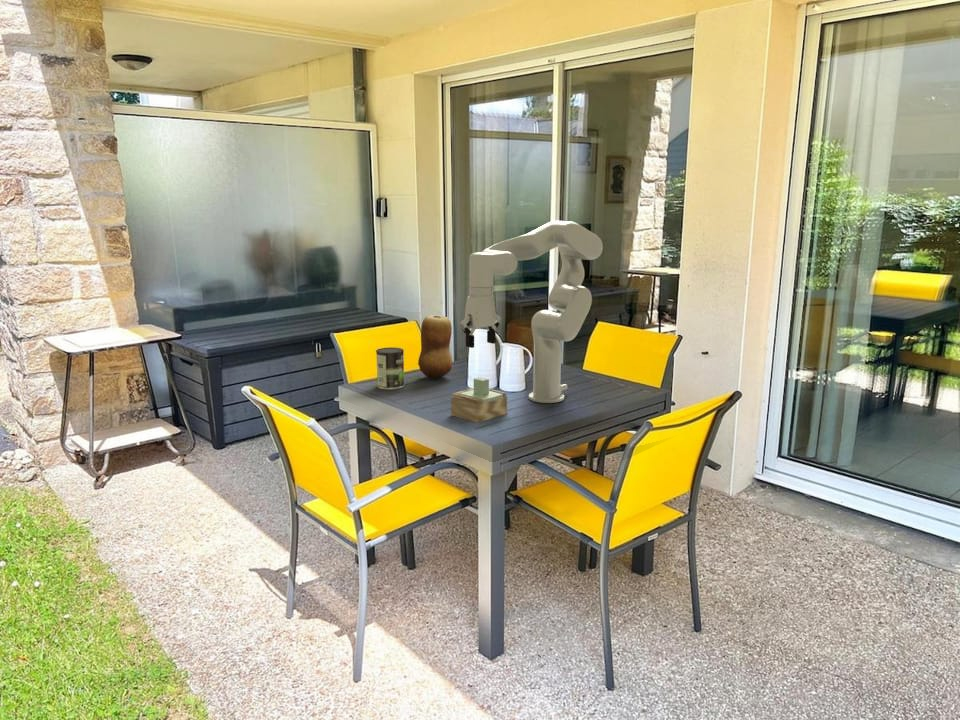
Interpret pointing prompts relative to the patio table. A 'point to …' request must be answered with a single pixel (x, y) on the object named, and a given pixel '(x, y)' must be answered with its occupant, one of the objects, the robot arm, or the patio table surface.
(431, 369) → the butternut squash
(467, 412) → the box
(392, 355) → the coffee can
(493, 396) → the cover plate
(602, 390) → the patio table surface
